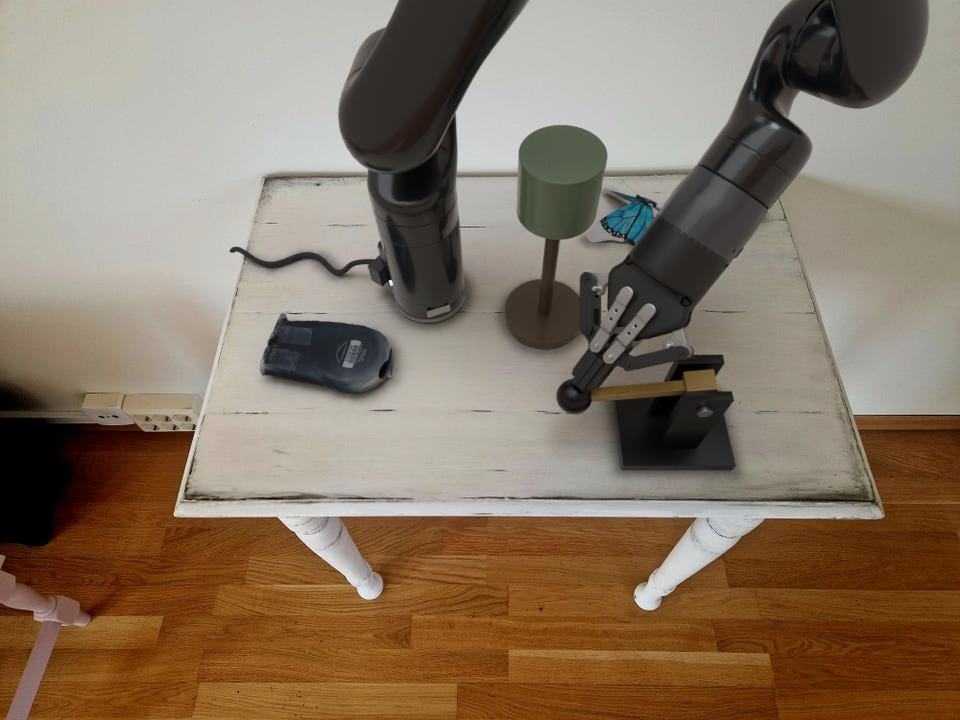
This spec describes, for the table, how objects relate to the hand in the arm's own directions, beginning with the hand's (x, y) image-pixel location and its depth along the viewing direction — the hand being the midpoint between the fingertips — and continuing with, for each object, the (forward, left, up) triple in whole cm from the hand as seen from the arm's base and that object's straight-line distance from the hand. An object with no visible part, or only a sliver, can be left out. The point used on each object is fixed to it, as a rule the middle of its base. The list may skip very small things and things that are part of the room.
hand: (580, 386), depth 56 cm
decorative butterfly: (-10, +32, -11) cm, 36 cm away
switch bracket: (+9, +7, -11) cm, 16 cm away
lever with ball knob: (+5, +3, -3) cm, 6 cm away
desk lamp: (-11, +12, -11) cm, 20 cm away
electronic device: (-28, -9, -11) cm, 32 cm away
